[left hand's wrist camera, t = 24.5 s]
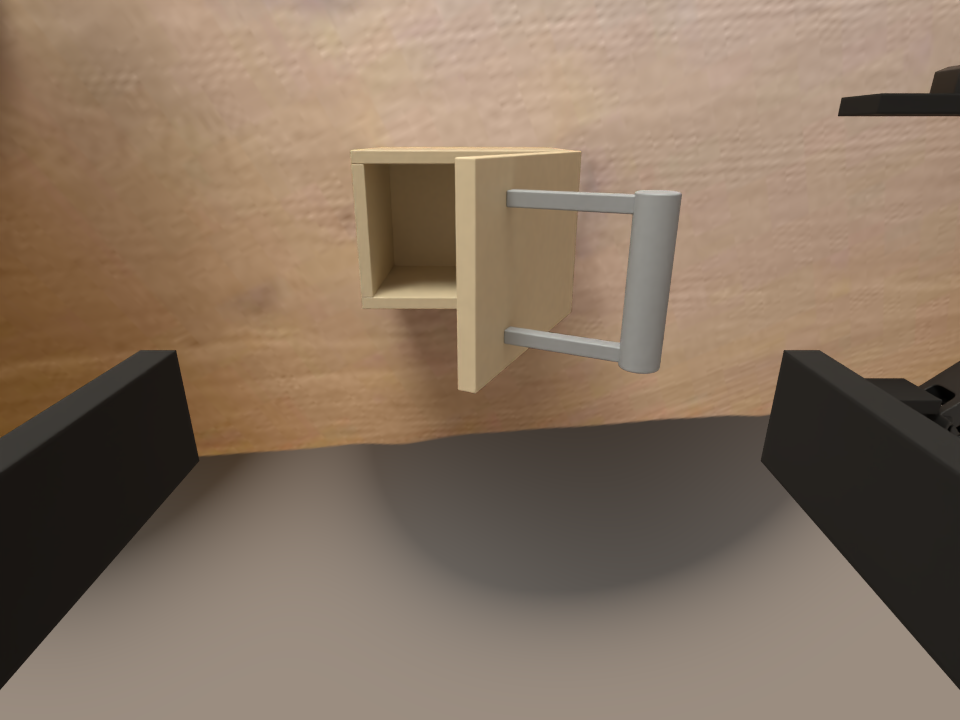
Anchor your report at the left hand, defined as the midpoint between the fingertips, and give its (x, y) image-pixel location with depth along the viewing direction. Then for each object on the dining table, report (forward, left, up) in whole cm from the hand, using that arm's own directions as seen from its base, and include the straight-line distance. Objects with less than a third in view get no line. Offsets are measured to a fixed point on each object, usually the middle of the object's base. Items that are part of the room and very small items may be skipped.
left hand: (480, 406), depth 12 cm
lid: (+2, 0, -18) cm, 18 cm away
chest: (-1, 0, -34) cm, 34 cm away
